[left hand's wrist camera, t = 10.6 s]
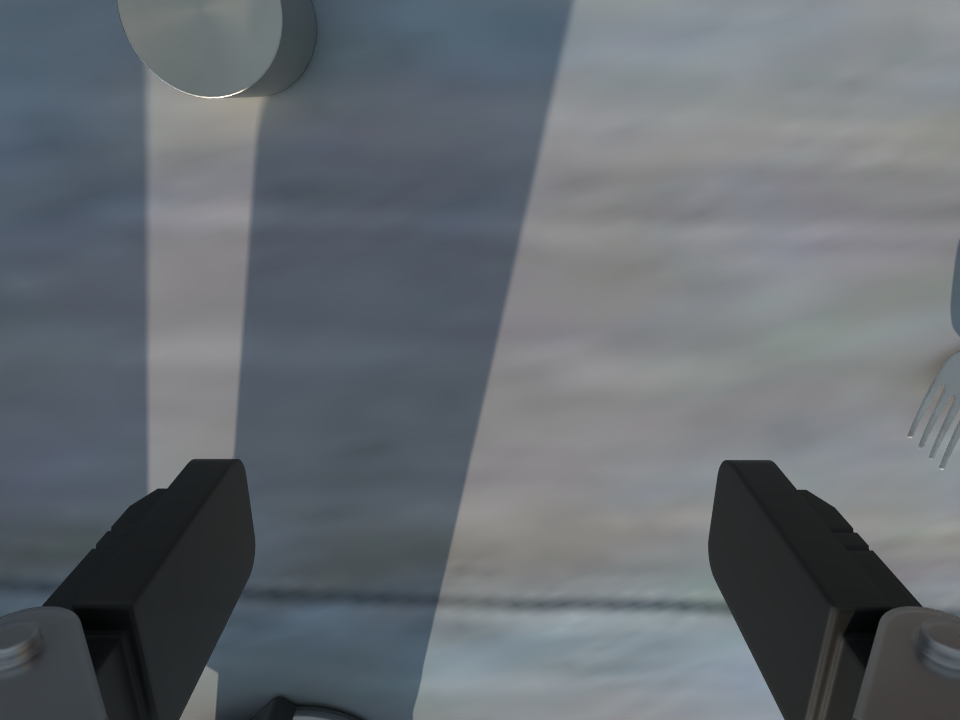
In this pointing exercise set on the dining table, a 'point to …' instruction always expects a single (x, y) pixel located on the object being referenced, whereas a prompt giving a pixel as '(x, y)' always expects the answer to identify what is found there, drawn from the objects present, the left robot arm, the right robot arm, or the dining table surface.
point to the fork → (942, 407)
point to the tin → (222, 43)
